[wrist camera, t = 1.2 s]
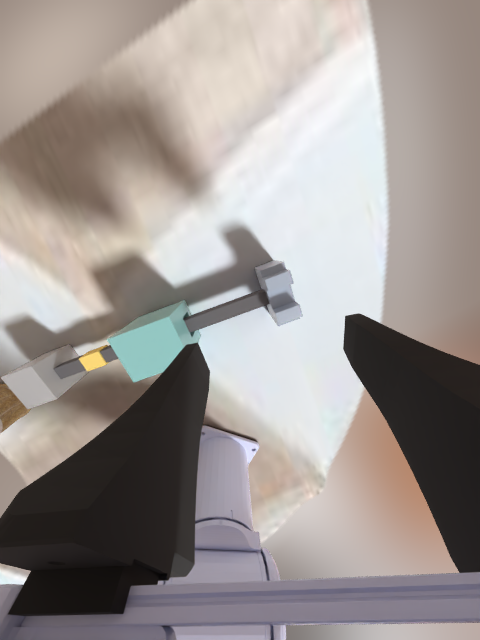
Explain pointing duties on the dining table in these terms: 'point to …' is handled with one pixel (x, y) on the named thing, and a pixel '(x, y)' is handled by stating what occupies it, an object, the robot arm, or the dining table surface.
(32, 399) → the grey cube
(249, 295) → the shaft
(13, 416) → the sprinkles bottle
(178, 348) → the sleeve
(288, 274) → the grey notched jaw block
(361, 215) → the dining table surface
